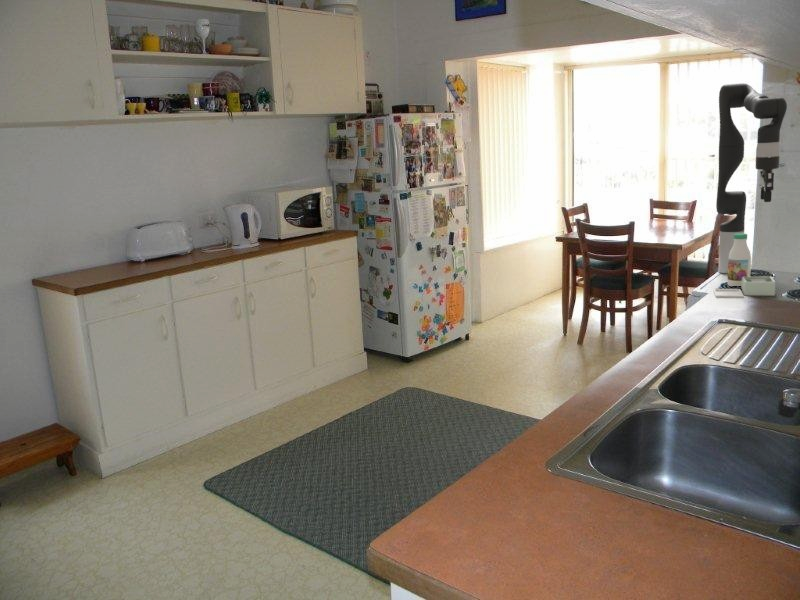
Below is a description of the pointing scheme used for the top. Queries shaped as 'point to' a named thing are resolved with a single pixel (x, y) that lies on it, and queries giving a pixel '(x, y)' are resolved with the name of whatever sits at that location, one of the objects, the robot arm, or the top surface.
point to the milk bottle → (739, 260)
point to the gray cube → (757, 280)
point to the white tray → (728, 293)
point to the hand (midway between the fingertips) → (765, 200)
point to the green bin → (758, 286)
